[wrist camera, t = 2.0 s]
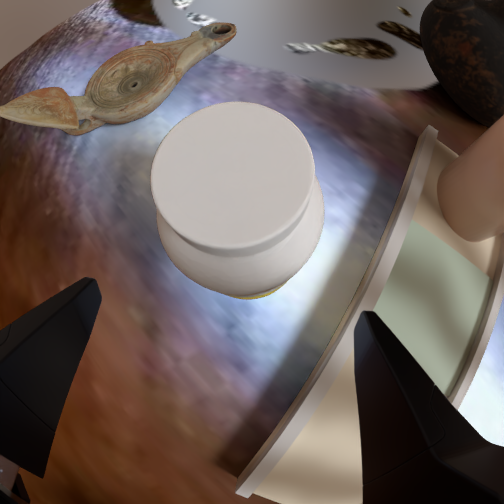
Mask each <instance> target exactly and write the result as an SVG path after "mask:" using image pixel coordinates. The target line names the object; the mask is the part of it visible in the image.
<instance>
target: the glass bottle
mask: <svg viewBox="0 0 504 504" xmlns="http://www.w3.org/2000/svg"><path fill="white" fill-rule="evenodd" d="M420 37H421V42H422V47H423V50H424V53H425V56H426V59H427V61H428V63H429V65H430V67H431V69H432V71H433V73H434V75H435V76H436V78H437V79H438V81H439V82H440V84H441V85H442V87H443V88H444V89H445V91H446V92H447V93H448V95H449V96H450V97H451V98H452V99H453V101H454V102H455V103H456V104H457V105H458V106H459V107H460V108H461V109H462V110H463V111H465V112H466V113H467V114H468V115H470V116H471V117H472V118H474V119H475V120H477V121H478V122H480V123H482V124H484V125H485V126H487V127H489V128H490V127H491V126H492V125H493V124H494V123H495V122H496V121H498V120H499V119H500V118H501V117H502V116H503V115H504V0H432V1H431V2H430V3H429V4H428V6H427V7H426V8H425V10H424V12H423V14H422V17H421V21H420Z"/></svg>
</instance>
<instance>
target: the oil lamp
mask: <svg viewBox="0 0 504 504" xmlns="http://www.w3.org/2000/svg"><path fill="white" fill-rule="evenodd" d="M235 35H236V26H235V25H234V24H231V23H214V24H210V25H207V26H205V27H203V28H201V29H200V30H199V31H194V32H192V34H191V36H190V37H188V38H184V39H181V40H177V41H172V42H166V43H156V44H154V43H153V41H147V42H146V43H145V45H140V46H135V47H132V48H129V49H126V50H124V51H122V52H120V53H118V54H116V55H114V56H113V57H111V58H110V59H109V60H107V61H106V62H105V63H104V64H102V65H101V66H100V67H99V68H98V70H97V71H96V72H95V73H94V74H93V76H92V77H91V79H90V81H89V82H88V85H87V87H86V90H85V96H68V95H67V93H66V92H65V91H64V89H62V88H59V87H48V88H42V89H39V90H35V91H32V92H29V93H27V94H24V95H22V96H20V97H18V98H16V99H14V100H12V101H11V102H9V103H7V104H6V105H4V106H0V116H1V117H3V118H6V119H9V120H12V121H15V122H19V123H23V124H28V125H34V126H41V127H50V128H58V129H61V130H62V131H65V132H66V133H68V134H70V135H81V134H84V133H87V132H89V131H92V130H94V129H95V128H97V127H100V126H102V125H104V124H106V123H110V124H123V123H128V122H131V121H134V120H136V119H139V118H142V117H144V116H146V115H148V114H150V113H151V112H153V111H154V110H155V109H156V108H157V107H158V106H159V105H160V104H161V103H162V102H163V101H164V100H165V99H166V98H167V97H168V96H169V94H170V93H171V92H172V90H173V89H174V87H175V86H176V85H177V84H178V82H179V81H180V80H181V78H182V77H183V75H184V74H185V73H186V72H187V71H188V70H189V69H190V68H191V67H193V66H194V65H195V64H197V63H198V62H199V61H201V60H202V59H204V58H205V57H207V56H208V55H210V54H211V53H213V52H214V51H216V50H218V49H219V48H221V47H223V46H224V45H225V44H227V43H228V42H229V41H230V40H231V39H232V38H233V37H234V36H235ZM82 119H85V121H84V122H83V123H82V124H81V125H79V120H82Z"/></svg>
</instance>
